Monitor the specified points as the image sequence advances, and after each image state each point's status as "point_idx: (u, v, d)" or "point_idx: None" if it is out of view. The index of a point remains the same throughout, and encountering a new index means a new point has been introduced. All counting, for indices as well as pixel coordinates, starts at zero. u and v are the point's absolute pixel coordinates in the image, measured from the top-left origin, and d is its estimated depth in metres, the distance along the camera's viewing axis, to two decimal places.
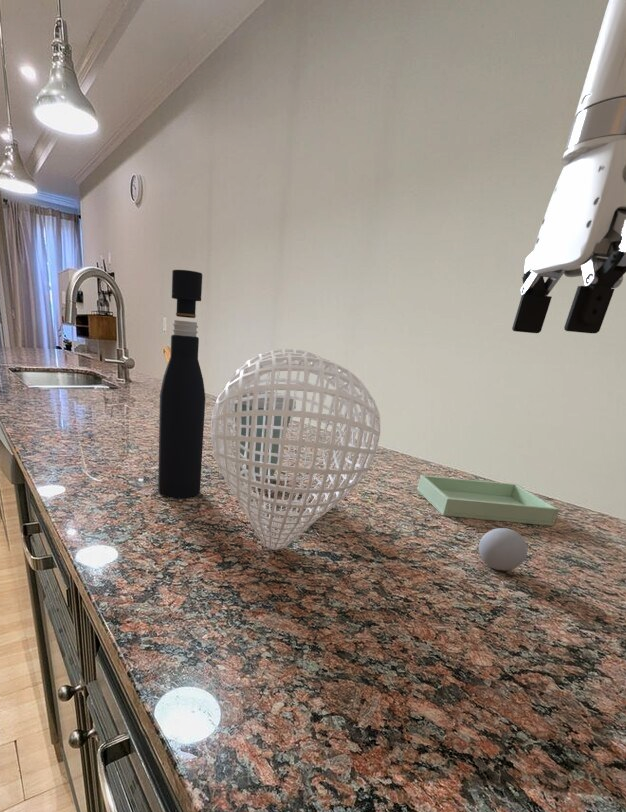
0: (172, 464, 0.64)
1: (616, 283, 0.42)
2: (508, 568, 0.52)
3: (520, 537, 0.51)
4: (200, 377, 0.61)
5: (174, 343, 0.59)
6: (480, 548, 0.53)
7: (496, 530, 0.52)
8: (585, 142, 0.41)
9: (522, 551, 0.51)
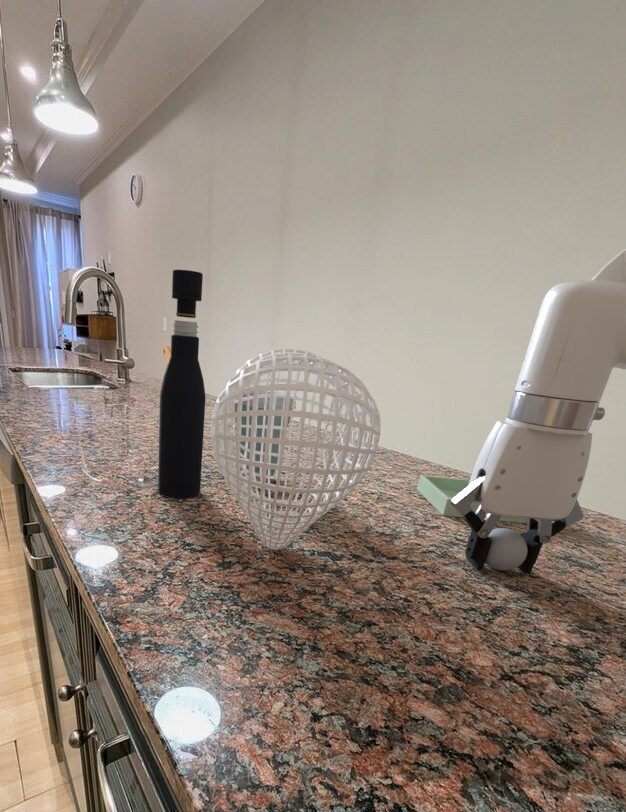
0: (172, 464, 0.64)
1: None
2: (508, 568, 0.52)
3: (520, 537, 0.51)
4: (200, 377, 0.61)
5: (174, 343, 0.59)
6: None
7: (496, 530, 0.52)
8: (582, 431, 0.44)
9: (522, 551, 0.51)
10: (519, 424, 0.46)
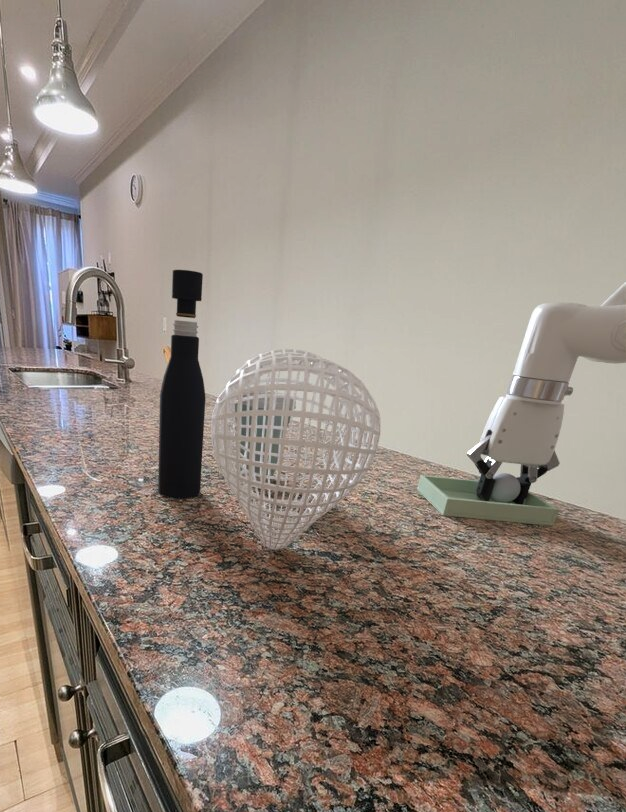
0: (172, 464, 0.64)
1: None
2: (507, 500, 0.74)
3: (515, 478, 0.73)
4: (200, 377, 0.61)
5: (174, 343, 0.59)
6: None
7: (498, 474, 0.74)
8: (557, 402, 0.66)
9: (517, 487, 0.73)
10: (515, 397, 0.68)
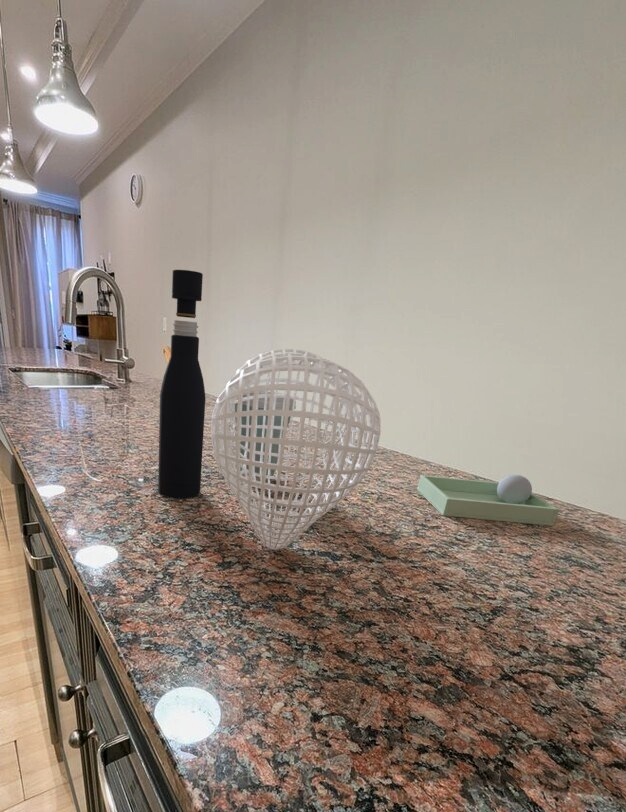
0: (172, 464, 0.64)
1: None
2: (511, 500, 0.74)
3: (531, 488, 0.73)
4: (200, 377, 0.61)
5: (174, 343, 0.59)
6: (504, 480, 0.74)
7: None
8: None
9: (528, 495, 0.73)
10: None
